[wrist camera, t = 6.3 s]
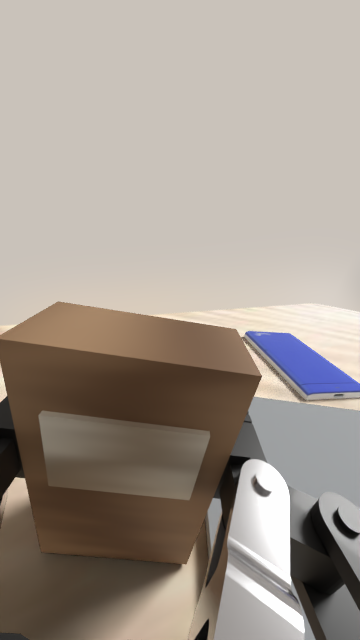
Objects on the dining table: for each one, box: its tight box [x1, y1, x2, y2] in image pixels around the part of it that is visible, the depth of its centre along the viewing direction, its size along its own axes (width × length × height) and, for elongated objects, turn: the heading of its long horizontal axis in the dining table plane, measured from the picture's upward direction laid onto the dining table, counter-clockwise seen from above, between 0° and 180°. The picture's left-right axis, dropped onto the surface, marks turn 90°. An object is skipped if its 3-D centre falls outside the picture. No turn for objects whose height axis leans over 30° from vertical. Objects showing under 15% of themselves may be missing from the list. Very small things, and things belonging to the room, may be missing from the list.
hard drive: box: [244, 331, 360, 400], centre depth 26 cm, size 2×8×12 cm
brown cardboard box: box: [0, 302, 262, 564], centre depth 8 cm, size 6×3×10 cm, turn 90°
